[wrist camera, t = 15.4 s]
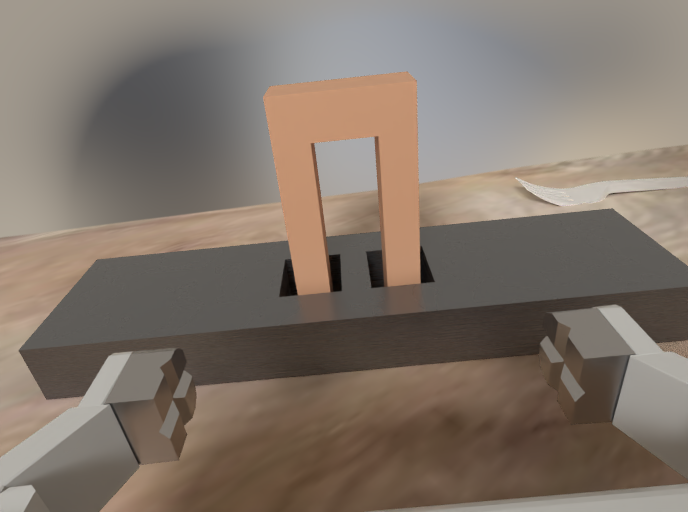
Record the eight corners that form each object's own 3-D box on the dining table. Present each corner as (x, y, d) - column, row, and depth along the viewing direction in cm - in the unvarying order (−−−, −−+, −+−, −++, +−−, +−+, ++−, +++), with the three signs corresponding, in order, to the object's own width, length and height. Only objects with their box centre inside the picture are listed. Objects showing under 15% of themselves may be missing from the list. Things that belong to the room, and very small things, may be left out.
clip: (307, 309, 26) (269, 86, 20) (413, 299, 26) (407, 71, 20) (305, 337, 24) (263, 97, 18) (421, 326, 24) (416, 80, 18)
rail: (114, 301, 29) (96, 259, 28) (603, 254, 28) (612, 208, 27) (46, 399, 22) (18, 350, 21) (692, 339, 21) (711, 284, 20)
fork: (795, 191, 35) (805, 167, 34) (525, 214, 35) (528, 190, 34) (759, 176, 38) (768, 153, 37) (510, 197, 38) (512, 174, 37)
